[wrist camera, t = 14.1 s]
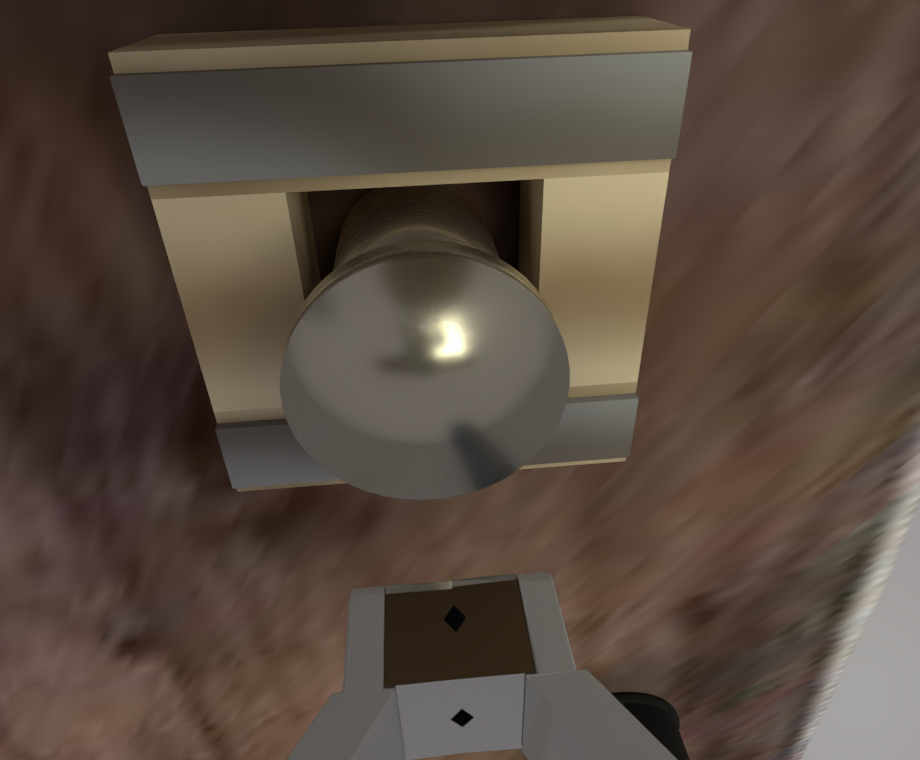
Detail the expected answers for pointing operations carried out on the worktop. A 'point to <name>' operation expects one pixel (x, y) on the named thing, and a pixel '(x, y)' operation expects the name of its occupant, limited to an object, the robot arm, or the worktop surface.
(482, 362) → the flanged metal cylinder
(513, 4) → the worktop surface
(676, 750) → the aerosol can
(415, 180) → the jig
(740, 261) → the worktop surface
